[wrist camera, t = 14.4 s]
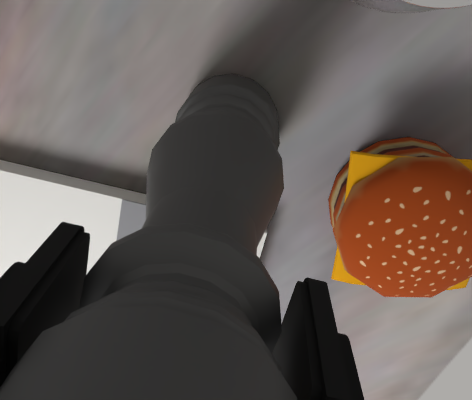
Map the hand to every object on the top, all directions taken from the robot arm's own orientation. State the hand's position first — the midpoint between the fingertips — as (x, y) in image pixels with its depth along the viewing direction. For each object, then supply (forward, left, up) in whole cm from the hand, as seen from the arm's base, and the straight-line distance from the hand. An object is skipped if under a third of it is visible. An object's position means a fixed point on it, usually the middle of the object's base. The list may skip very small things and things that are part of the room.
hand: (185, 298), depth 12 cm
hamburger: (+2, +12, -19) cm, 22 cm away
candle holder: (0, 0, -18) cm, 18 cm away
